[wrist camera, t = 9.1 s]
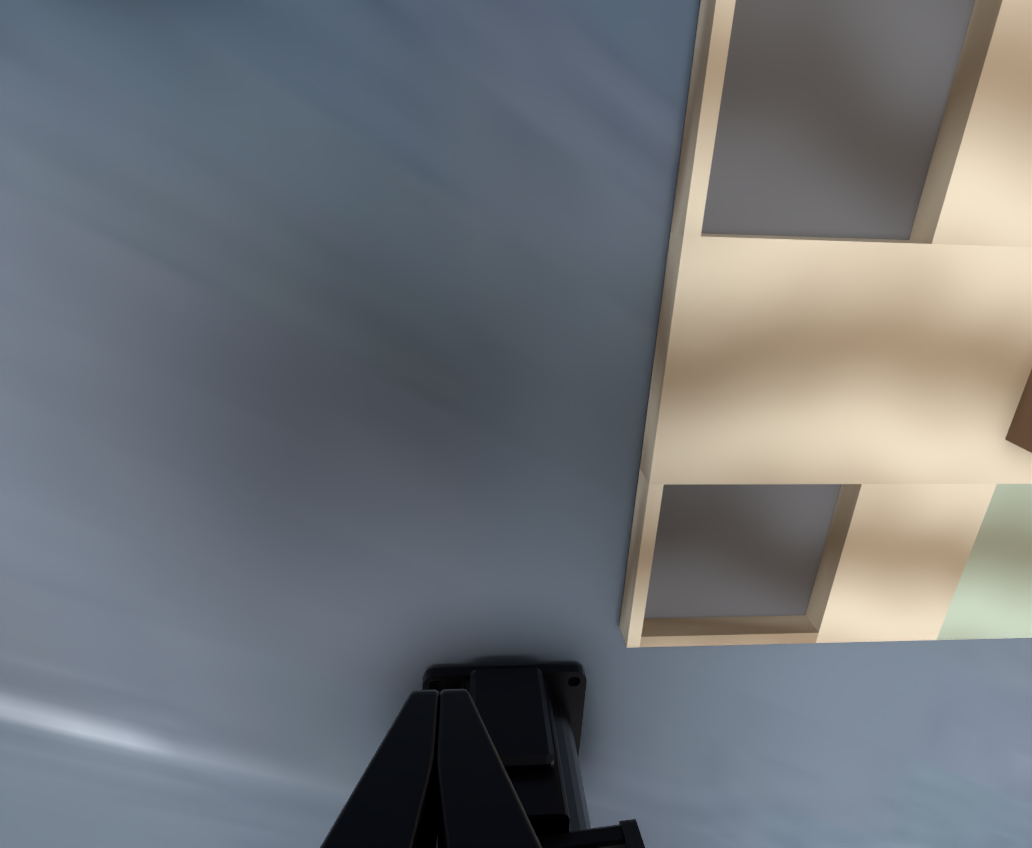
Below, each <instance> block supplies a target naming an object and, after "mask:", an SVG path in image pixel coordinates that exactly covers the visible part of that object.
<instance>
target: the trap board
mask: <svg viewBox="0 0 1032 848" xmlns="http://www.w3.org/2000/svg"><path fill="white" fill-rule="evenodd" d="M1031 369H1032V0H701V2H700V10H699V17H698V25H697V33H696V40H695V48H694V56H693V64H692V71H691V79H690V87H689V94H688V102H687V110H686V117H685V125H684V133H683V140H682V148H681V156H680V163H679V171H678V179H677V187H676V194H675V202H674V210H673V217H672V225H671V233H670V240H669V248H668V256H667V263H666V271H665V279H664V286H663V294H662V302H661V310H660V317H659V325H658V333H657V340H656V348H655V356H654V363H653V371H652V379H651V386H650V394H649V402H648V409H647V417H646V425H645V433H644V440H643V448H642V456H641V463H640V471H639V479H638V486H637V494H636V502H635V509H634V517H633V525H632V532H631V540H630V548H629V555H628V563H627V571H626V579H625V586H624V594H623V602H622V609H621V617H620V625H619V626H620V629H621V632H622V635H623V638H624V641H625V644H626V647H627V648H629V647H670V646H710V645H751V644H792V643H833V642H874V641H915V640H956V639H997V638H1032V453H1031V452H1029V451H1027V450H1025V449H1023V448H1021V447H1019V446H1017V445H1015V444H1013V443H1011V442H1009V441H1007V440H1005V438H1006V435H1007V433H1008V430H1009V427H1010V425H1011V422H1012V419H1013V417H1014V414H1015V411H1016V409H1017V406H1018V404H1019V401H1020V398H1021V396H1022V393H1023V390H1024V388H1025V385H1026V382H1027V380H1028V377H1029V375H1030V372H1031Z"/></svg>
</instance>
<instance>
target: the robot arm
mask: <svg viewBox="0 0 1032 848" xmlns="http://www.w3.org/2000/svg"><path fill="white" fill-rule="evenodd" d="M571 677H576V678H573V679H570V678H571ZM432 681H439V682H437V683H435V682H432ZM585 689H586V676H585V672H584V669H583V668H582V667H581V666H579V665H535V666H497V667H460V668H434V669H430V670H428V671H427V672H426V673H425V674H424V677H423V690H416V691H413V692H412V693H411V694H410V695H409V697H408V698H407V700H406V702H405V704H404V705H403V707H402V709H401V710H400V712H399V714H398V715H397V717H396V719H395V721H394V722H393V724H392V726H391V727H390V729H389V731H388V733H387V734H386V736H385V738H384V739H383V741H382V743H381V744H380V746H379V748H378V750H377V751H376V753H375V755H374V756H373V758H372V760H371V762H370V763H369V765H368V767H367V768H366V770H365V772H364V773H363V775H362V777H361V779H360V780H359V782H358V784H357V785H356V787H355V789H354V791H353V792H352V794H351V796H350V797H349V799H348V801H347V802H346V804H345V806H344V808H343V809H342V811H341V813H340V814H339V816H338V818H337V820H336V821H335V823H334V825H333V826H332V828H331V830H330V832H329V833H328V835H327V837H326V838H325V840H324V842H323V843H322V845H321V847H320V848H645V846H644V843H643V840H642V837H641V834H640V831H639V828H638V825H637V822H636V819H632V820H625V821H619V825H613V826H606V827H599V828H592V829H591V825H590V820H589V815H588V809H587V804H586V799H585V793H584V788H583V783H582V777H581V772H580V767H579V761H578V753H579V744H580V735H581V726H582V717H583V707H584V698H585Z"/></svg>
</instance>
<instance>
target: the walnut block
mask: <svg viewBox="0 0 1032 848" xmlns="http://www.w3.org/2000/svg"><path fill="white" fill-rule="evenodd" d="M1005 440H1007V441H1009V442H1011V443H1013V444H1015V445H1017V446H1019V447H1021V448H1023V449H1025V450H1027V451H1029V452H1031V453H1032V369H1031V372H1030V375H1029V377H1028V380H1027V382H1026V385H1025V388H1024V390H1023V393H1022V396H1021V398H1020V401H1019V404H1018V406H1017V409H1016V411H1015V414H1014V417H1013V419H1012V422H1011V425H1010V427H1009V430H1008V433H1007V435H1006V438H1005Z"/></svg>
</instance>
